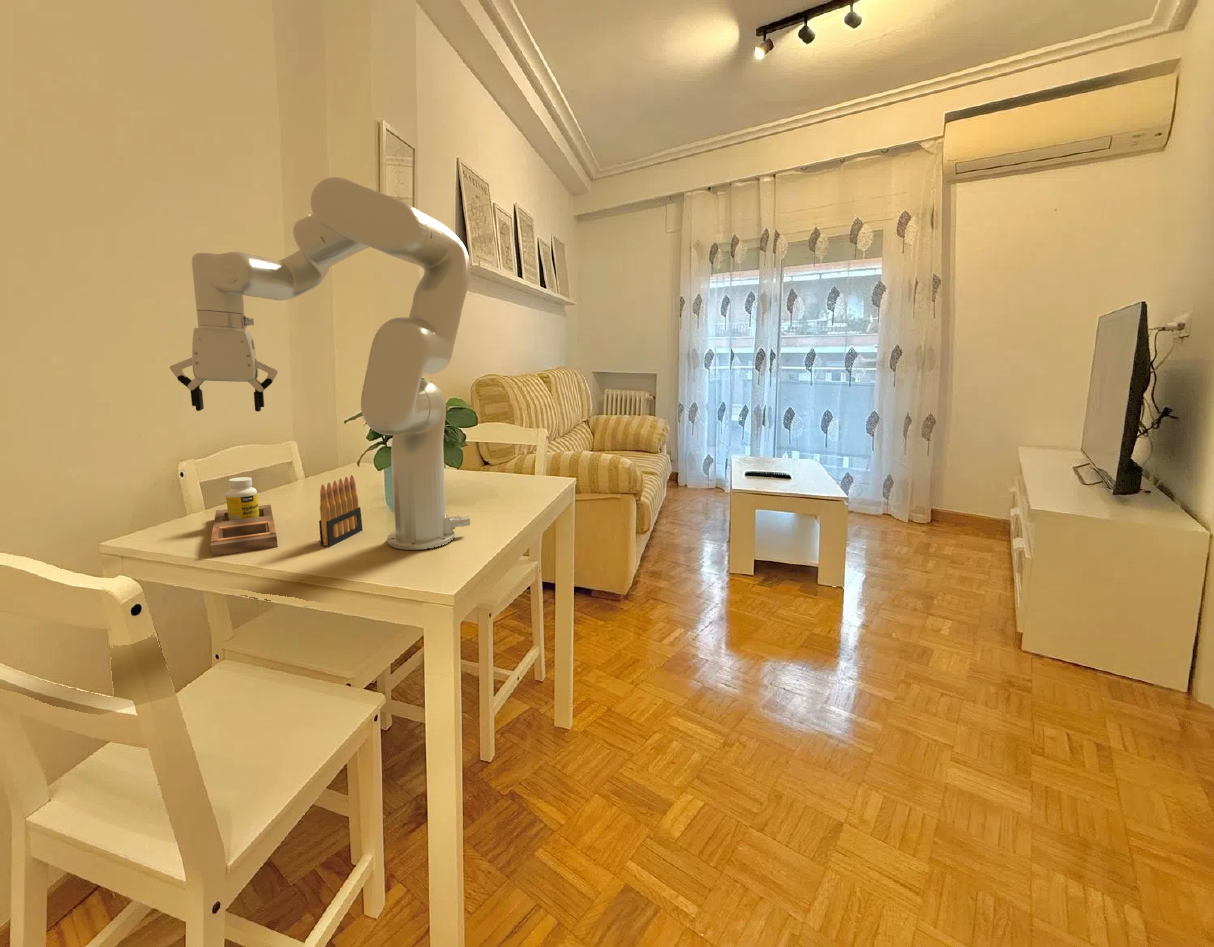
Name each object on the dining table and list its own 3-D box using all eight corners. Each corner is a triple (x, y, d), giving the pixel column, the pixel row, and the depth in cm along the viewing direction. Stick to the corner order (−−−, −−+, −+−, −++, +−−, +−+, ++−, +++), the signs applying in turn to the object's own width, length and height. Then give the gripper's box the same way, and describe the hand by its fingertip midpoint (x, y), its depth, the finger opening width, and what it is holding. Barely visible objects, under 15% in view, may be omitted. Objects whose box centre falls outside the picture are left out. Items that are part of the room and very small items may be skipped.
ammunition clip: (329, 547, 99) (323, 485, 97) (320, 546, 99) (314, 485, 97) (362, 530, 110) (358, 474, 107) (354, 529, 110) (350, 473, 107)
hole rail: (271, 513, 120) (270, 503, 119) (277, 546, 99) (276, 535, 98) (217, 519, 114) (215, 509, 114) (211, 556, 93) (210, 544, 93)
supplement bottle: (244, 528, 109) (239, 482, 107) (223, 526, 110) (217, 480, 108) (266, 521, 114) (261, 477, 112) (245, 519, 115) (240, 475, 113)
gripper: (276, 326, 109) (281, 409, 113) (170, 318, 101) (180, 407, 105) (272, 325, 102) (278, 413, 106) (159, 317, 95) (170, 412, 98)
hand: (229, 410), depth 105 cm, fingers open, 9 cm apart
